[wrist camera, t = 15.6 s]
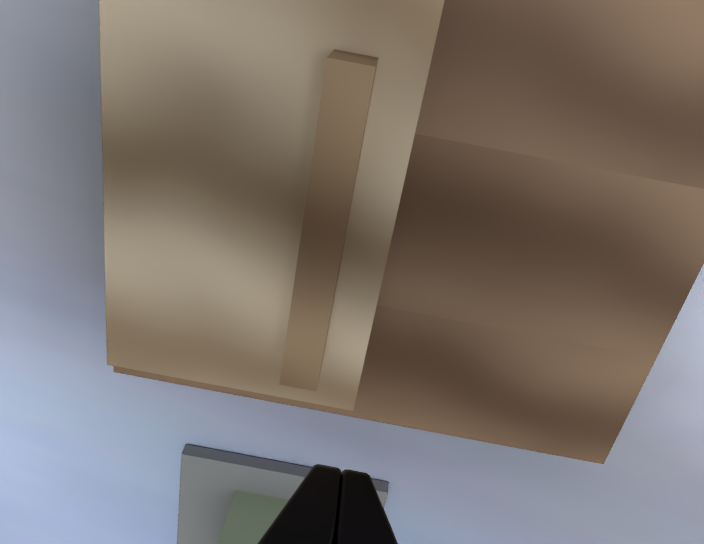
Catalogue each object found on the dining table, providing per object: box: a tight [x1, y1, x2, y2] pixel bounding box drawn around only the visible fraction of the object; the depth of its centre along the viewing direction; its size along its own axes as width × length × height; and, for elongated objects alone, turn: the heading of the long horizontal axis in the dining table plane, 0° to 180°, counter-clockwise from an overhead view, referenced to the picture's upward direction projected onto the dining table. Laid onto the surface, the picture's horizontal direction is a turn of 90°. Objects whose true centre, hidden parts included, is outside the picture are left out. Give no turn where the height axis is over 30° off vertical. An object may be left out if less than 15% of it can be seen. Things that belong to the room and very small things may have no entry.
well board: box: [114, 0, 704, 464], centre depth 20 cm, size 16×19×2 cm
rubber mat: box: [177, 444, 388, 544], centre depth 27 cm, size 7×9×1 cm
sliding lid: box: [99, 0, 445, 411], centre depth 18 cm, size 14×9×3 cm, turn 170°
